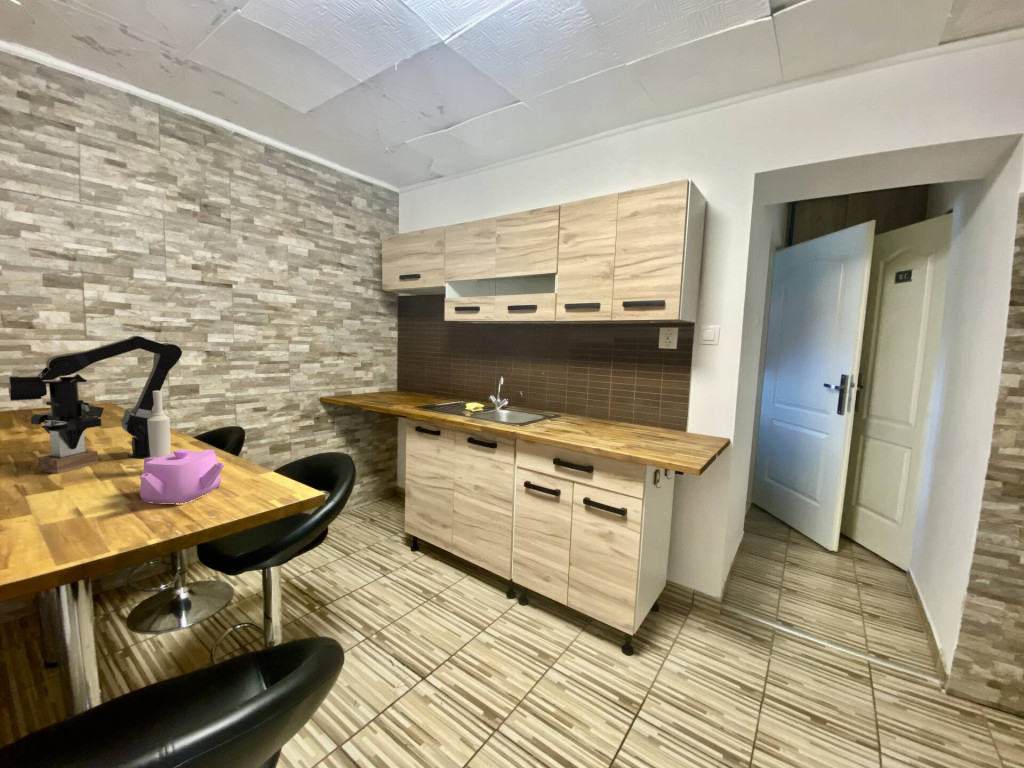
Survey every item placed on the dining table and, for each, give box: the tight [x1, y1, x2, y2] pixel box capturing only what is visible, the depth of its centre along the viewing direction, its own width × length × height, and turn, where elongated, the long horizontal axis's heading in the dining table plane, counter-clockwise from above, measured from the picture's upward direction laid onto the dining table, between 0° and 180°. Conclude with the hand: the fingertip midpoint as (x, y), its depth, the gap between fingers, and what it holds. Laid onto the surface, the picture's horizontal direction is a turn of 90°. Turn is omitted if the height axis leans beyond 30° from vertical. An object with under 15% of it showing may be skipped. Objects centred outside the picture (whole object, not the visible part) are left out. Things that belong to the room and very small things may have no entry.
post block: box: [37, 449, 99, 475], centre depth 122 cm, size 7×10×4 cm
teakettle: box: [139, 448, 225, 504], centre depth 108 cm, size 17×17×12 cm
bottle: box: [147, 390, 172, 457], centre depth 122 cm, size 5×5×25 cm
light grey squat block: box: [49, 429, 86, 459], centre depth 122 cm, size 4×6×9 cm, turn 168°
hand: (68, 448), depth 122 cm, fingers closed on light grey squat block, 3 cm apart
